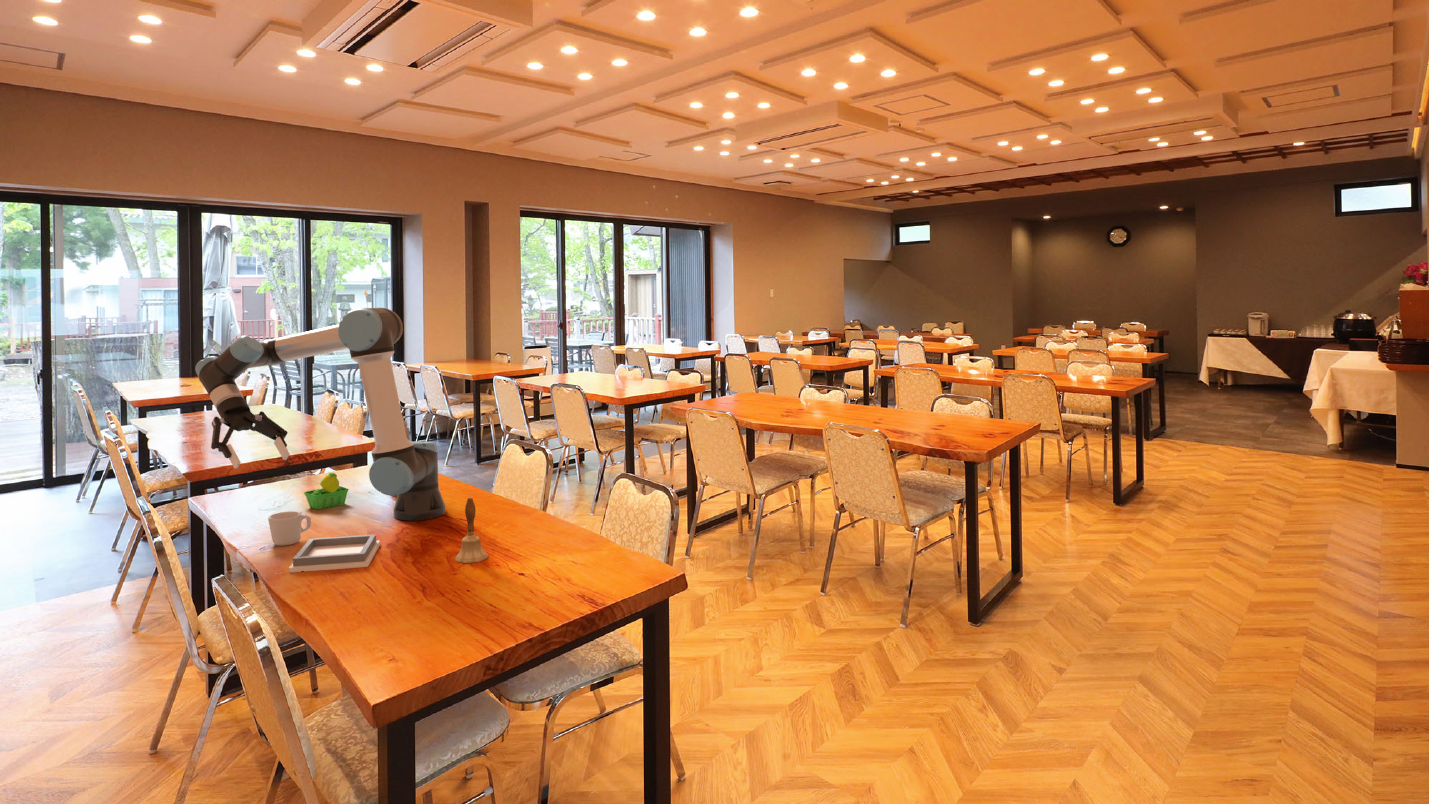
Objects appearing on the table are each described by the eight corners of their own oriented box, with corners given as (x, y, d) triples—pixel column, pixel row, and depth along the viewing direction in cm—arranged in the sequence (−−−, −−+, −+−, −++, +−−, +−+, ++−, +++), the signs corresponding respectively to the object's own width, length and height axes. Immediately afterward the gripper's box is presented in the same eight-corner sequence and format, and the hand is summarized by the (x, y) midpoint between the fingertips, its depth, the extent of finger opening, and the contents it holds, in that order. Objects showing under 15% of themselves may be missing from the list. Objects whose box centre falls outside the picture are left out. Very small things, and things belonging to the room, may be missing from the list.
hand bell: (459, 553, 205) (456, 494, 203) (491, 552, 206) (489, 494, 204) (451, 563, 197) (448, 503, 195) (484, 563, 198) (482, 502, 195)
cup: (303, 534, 220) (302, 507, 219) (318, 539, 216) (317, 511, 215) (264, 544, 211) (262, 516, 210) (279, 549, 207) (277, 521, 206)
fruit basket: (338, 500, 257) (336, 467, 256) (352, 504, 252) (350, 470, 251) (303, 507, 248) (301, 473, 247) (318, 512, 243) (315, 477, 242)
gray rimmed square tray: (380, 544, 212) (379, 533, 211) (367, 566, 194) (367, 554, 194) (308, 549, 207) (307, 537, 207) (289, 572, 190) (288, 560, 190)
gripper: (269, 407, 234) (301, 461, 228) (178, 417, 213) (211, 477, 207) (278, 391, 230) (310, 446, 225) (186, 399, 209) (220, 460, 204)
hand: (263, 461), depth 216 cm, fingers open, 13 cm apart
